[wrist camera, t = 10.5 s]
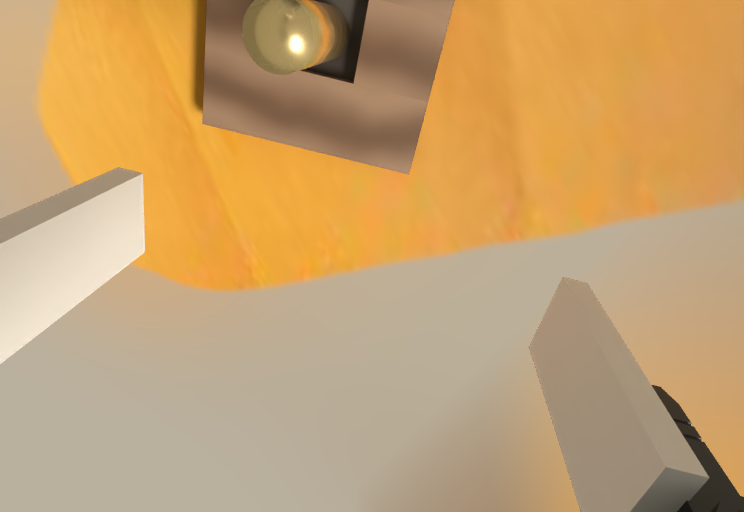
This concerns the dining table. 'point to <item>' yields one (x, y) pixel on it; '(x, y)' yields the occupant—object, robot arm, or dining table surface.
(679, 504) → the robot arm
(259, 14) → the pin
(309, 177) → the dining table surface
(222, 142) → the dining table surface
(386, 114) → the board
